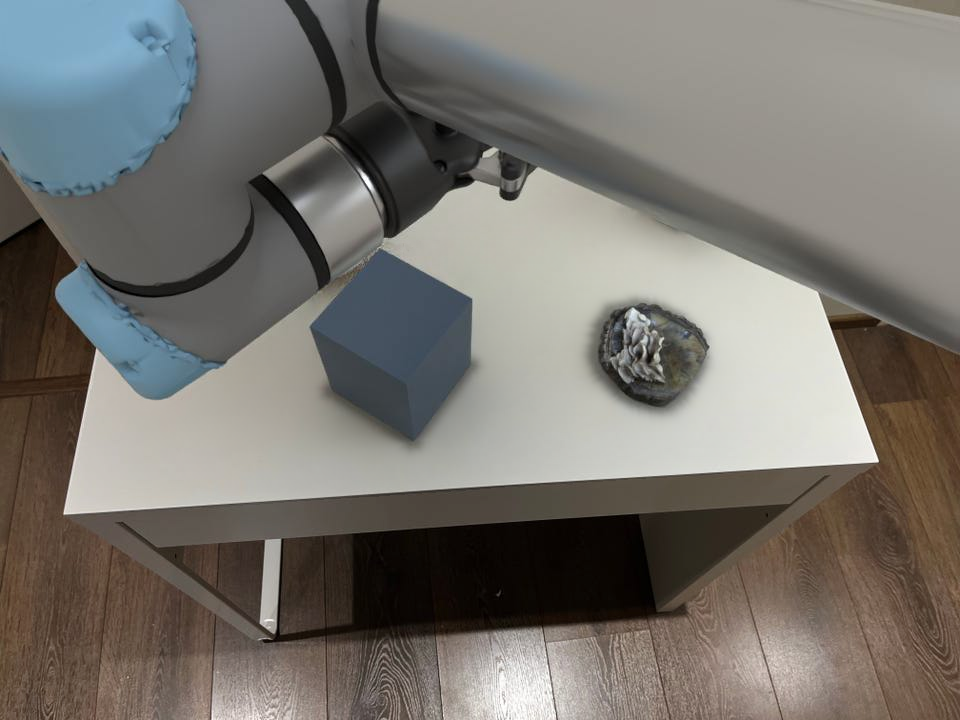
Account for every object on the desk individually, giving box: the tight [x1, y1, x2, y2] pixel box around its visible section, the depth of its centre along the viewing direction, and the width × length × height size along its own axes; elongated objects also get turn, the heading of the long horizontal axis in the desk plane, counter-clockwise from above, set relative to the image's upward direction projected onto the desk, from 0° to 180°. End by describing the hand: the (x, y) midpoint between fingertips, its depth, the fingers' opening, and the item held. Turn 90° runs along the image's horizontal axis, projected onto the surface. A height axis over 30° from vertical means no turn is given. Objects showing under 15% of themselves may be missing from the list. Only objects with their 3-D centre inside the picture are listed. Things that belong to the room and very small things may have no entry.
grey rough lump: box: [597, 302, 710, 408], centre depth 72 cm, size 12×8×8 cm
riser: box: [309, 247, 474, 441], centre depth 65 cm, size 10×10×12 cm
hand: (612, 8), depth 48 cm, fingers closed on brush, 3 cm apart
